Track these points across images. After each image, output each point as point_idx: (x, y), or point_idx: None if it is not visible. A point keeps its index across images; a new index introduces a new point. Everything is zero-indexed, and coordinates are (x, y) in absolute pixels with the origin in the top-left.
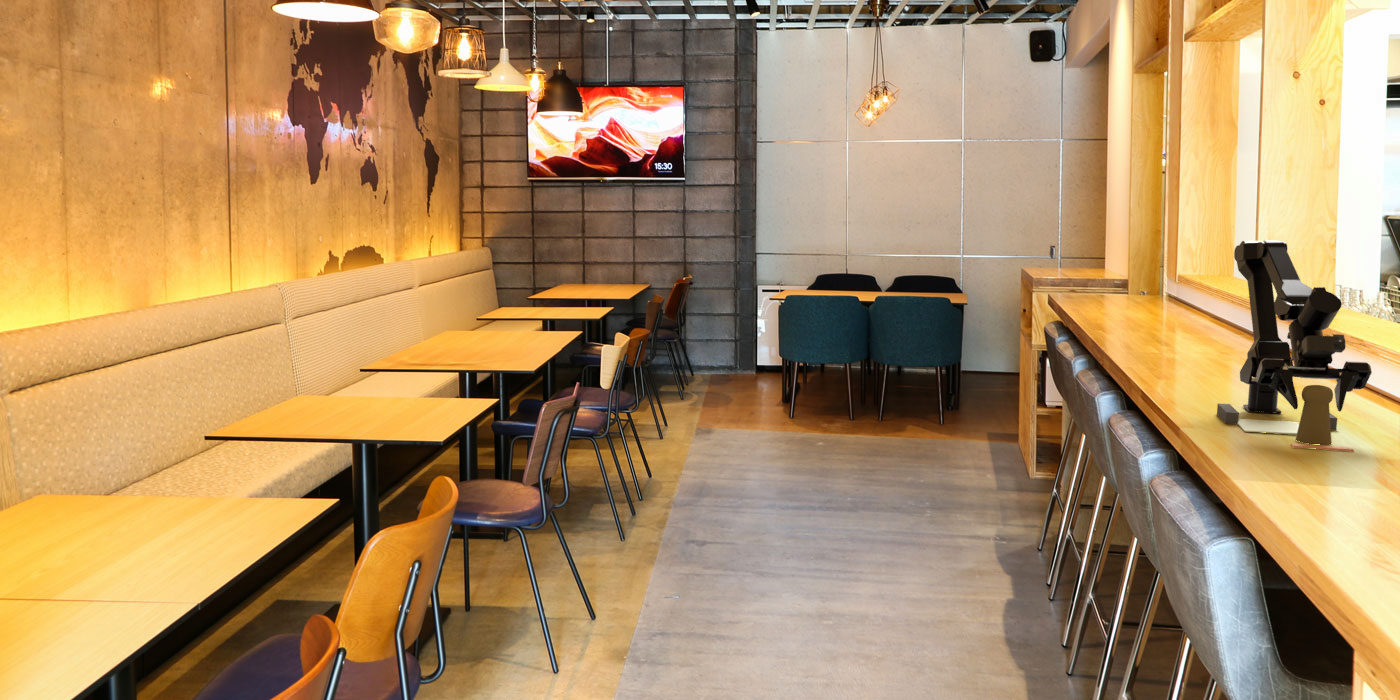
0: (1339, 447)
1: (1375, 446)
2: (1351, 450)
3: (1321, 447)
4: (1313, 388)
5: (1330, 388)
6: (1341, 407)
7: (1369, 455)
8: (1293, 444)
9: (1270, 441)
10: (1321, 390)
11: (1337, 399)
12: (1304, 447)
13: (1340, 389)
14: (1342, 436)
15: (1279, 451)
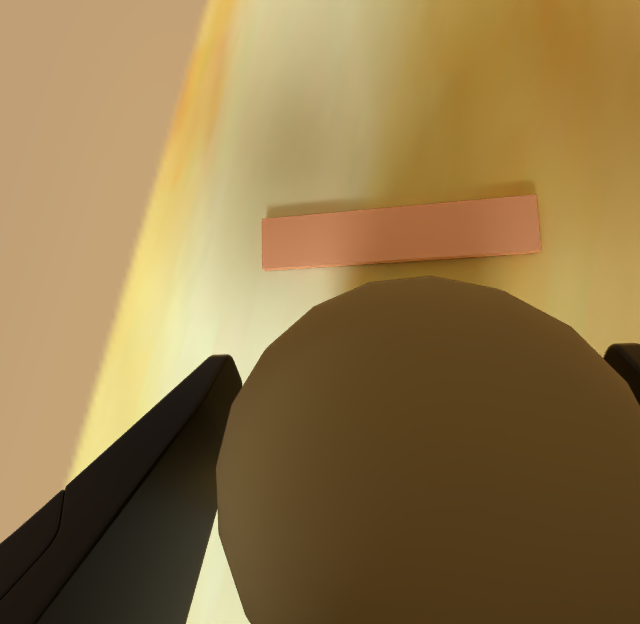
0: (315, 241)
1: (146, 373)
2: (273, 219)
3: (399, 211)
4: (542, 349)
5: (228, 480)
6: (213, 357)
7: (221, 174)
8: (530, 232)
9: (635, 333)
10: (407, 296)
11: (191, 504)
12: (479, 201)
13: (86, 537)
14: (227, 580)
15: (615, 97)
